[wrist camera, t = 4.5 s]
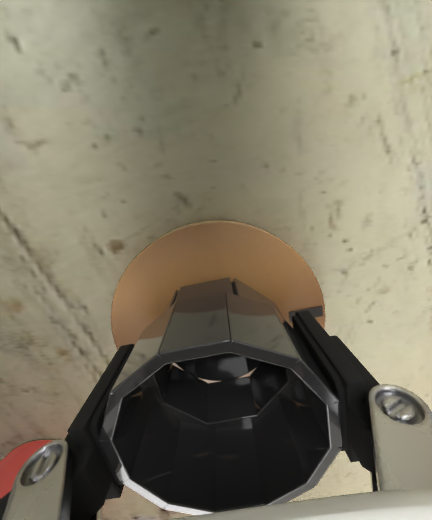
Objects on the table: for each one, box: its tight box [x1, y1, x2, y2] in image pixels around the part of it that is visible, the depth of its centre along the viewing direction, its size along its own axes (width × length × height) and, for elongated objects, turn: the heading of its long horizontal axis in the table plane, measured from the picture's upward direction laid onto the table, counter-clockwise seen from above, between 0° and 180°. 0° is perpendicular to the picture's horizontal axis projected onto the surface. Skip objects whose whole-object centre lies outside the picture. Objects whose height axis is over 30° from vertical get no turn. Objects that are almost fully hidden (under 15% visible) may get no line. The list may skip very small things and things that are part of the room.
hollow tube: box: [99, 277, 342, 515], centre depth 9 cm, size 9×7×6 cm
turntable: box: [111, 220, 325, 383], centre depth 13 cm, size 12×12×1 cm
